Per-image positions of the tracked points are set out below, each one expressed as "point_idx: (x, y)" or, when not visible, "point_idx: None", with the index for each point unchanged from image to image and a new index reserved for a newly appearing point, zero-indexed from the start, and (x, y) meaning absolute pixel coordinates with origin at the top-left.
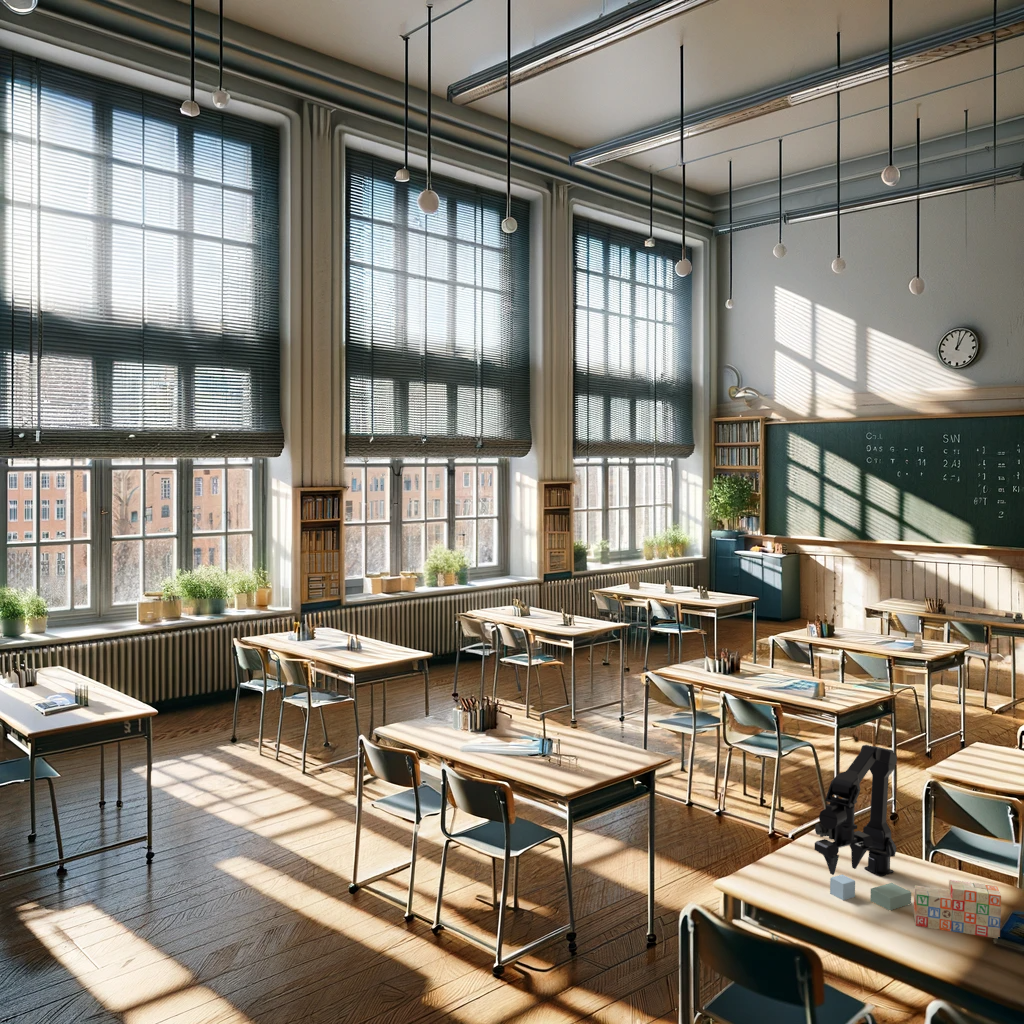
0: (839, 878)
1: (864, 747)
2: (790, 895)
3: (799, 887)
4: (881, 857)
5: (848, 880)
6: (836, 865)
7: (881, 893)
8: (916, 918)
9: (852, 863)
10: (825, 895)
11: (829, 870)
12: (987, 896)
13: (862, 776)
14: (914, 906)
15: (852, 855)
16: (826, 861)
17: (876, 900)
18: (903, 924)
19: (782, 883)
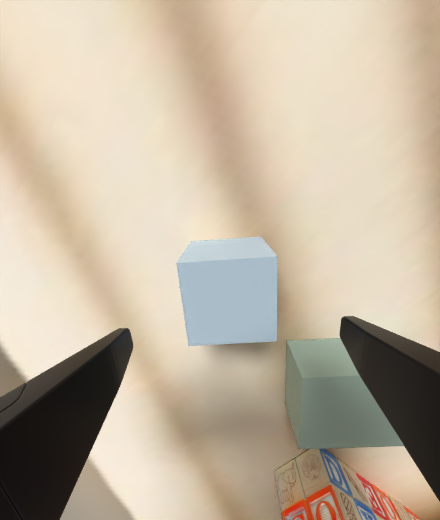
0: (219, 290)
1: None
2: (13, 188)
3: (96, 132)
4: None
5: (246, 326)
6: (86, 456)
7: (303, 418)
8: (279, 499)
9: (362, 338)
10: (161, 247)
11: (100, 342)
12: None
13: None
14: (320, 497)
15: (435, 391)
16: (3, 401)
17: (289, 371)
18: (250, 458)
19: (31, 47)
